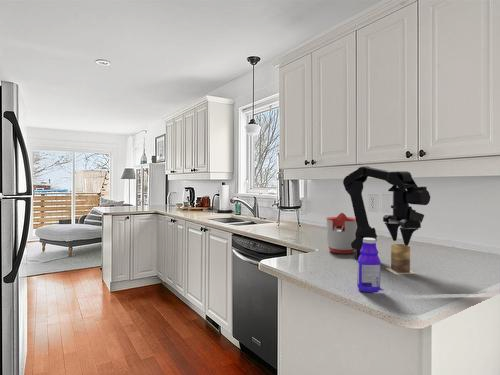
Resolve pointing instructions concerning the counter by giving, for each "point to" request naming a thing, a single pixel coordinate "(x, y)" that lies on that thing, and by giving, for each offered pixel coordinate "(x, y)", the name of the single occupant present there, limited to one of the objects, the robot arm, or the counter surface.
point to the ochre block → (400, 251)
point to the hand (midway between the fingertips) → (400, 243)
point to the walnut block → (400, 265)
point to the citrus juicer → (341, 233)
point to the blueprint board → (399, 273)
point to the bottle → (368, 267)
